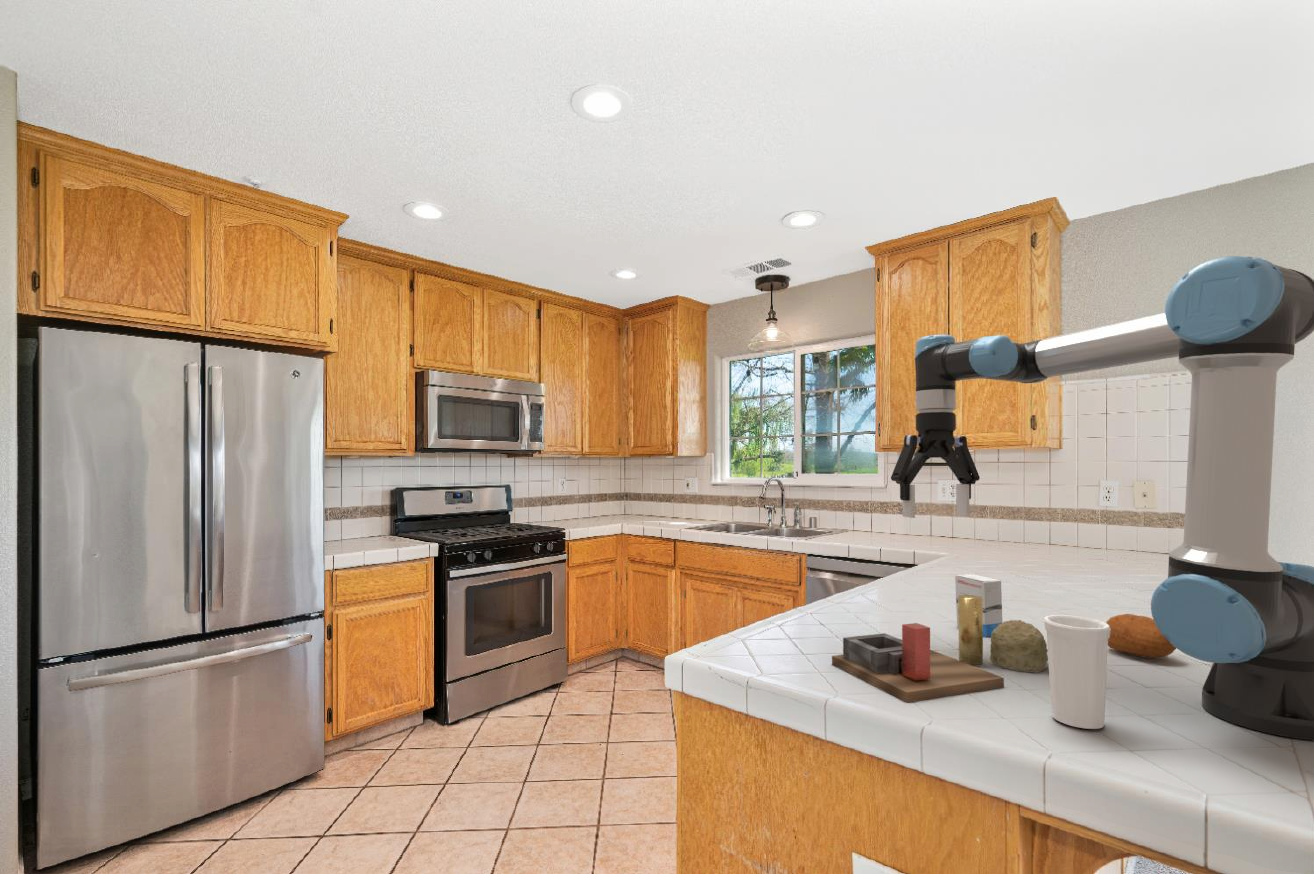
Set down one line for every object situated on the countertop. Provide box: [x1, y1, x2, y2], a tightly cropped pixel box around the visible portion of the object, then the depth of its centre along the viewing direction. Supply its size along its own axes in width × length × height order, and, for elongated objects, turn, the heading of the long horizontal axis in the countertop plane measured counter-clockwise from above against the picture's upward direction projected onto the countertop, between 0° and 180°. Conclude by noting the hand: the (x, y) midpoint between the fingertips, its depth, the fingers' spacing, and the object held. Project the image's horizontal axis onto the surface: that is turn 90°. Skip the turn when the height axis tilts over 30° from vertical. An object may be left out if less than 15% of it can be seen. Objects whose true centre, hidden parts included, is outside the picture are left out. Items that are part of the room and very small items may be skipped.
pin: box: [899, 622, 931, 681], centre depth 108 cm, size 10×3×8 cm, turn 20°
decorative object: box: [989, 619, 1049, 673], centre depth 117 cm, size 9×10×10 cm
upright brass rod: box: [958, 595, 984, 667], centre depth 118 cm, size 4×4×12 cm
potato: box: [1105, 613, 1177, 659], centre depth 122 cm, size 9×11×8 cm
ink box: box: [955, 573, 1003, 638], centre depth 139 cm, size 9×5×12 cm, turn 17°
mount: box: [831, 632, 1005, 703], centre depth 110 cm, size 19×20×5 cm
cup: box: [1043, 614, 1111, 730], centre depth 91 cm, size 8×8×14 cm
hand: (936, 516), depth 129 cm, fingers open, 13 cm apart
